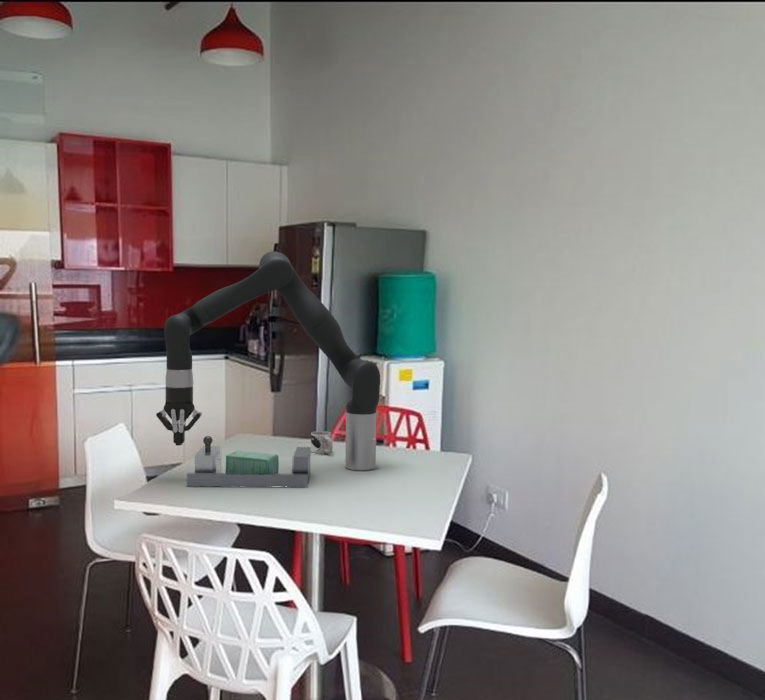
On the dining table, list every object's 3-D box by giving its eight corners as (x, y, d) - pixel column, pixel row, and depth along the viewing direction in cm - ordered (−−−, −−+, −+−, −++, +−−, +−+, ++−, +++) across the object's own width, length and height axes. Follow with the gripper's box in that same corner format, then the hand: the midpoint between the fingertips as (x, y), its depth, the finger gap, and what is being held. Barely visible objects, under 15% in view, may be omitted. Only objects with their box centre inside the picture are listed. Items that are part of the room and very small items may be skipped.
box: (269, 485, 204) (269, 458, 203) (224, 481, 207) (224, 455, 206) (279, 478, 211) (279, 453, 210) (236, 474, 214) (236, 449, 214)
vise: (310, 473, 217) (310, 447, 216) (307, 487, 202) (307, 459, 201) (198, 472, 215) (198, 446, 214) (186, 486, 200) (186, 458, 199)
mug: (307, 451, 245) (307, 432, 244) (323, 449, 248) (324, 430, 248) (322, 457, 237) (323, 437, 236) (340, 455, 240) (340, 435, 240)
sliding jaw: (222, 473, 215) (222, 432, 214) (215, 483, 204) (215, 440, 202) (203, 472, 215) (203, 431, 214) (194, 483, 203) (194, 440, 202)
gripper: (152, 386, 202) (152, 447, 204) (200, 387, 203) (199, 448, 204) (159, 382, 210) (158, 441, 211) (205, 383, 210) (205, 442, 212)
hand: (179, 444), depth 208 cm, fingers closed
